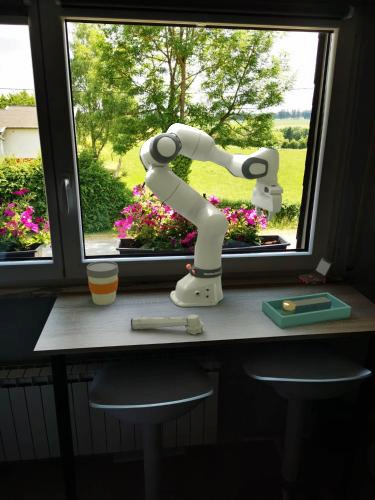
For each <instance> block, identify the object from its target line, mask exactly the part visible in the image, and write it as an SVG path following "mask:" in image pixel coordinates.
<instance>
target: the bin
mask: <svg viewBox="0 0 375 500" xmlns="http://www.w3.org/2000/svg"><path fill="white" fill-rule="evenodd" d="M320 297H326V298H328V299H329V300H331V301H332V303H331V309H327V310H320V311H313V312H307V313H300V314H293V315H287V316H282V307H283V301H286V300H289V301H299V300H306V299H313V298H320ZM261 312H262V313H263V314H264V316H266V317H267V318H268V319H269V320H270V321H271V322H272V323H273V324H275V325H276V327H278V328H279V329H280V330H283V329H289V328H294V327H302V326H307V325H312V324H319V323H320V324H321V323H325V322H326V323H327V322H332V321H333V322H334V321H337V320H345V319H349V318H350V317H351V313H352V306H351V305H348V304H347V303H345V302H343V300H341V299H339V298H337V297H336V296H334V295H332V293H330V292H328V291H327V292H321V293H320V292H319V293H312V294H307V295H298V296H290V297H289V296H288V297H283V298H276V299H275V298H274V299H267V300H263V301H262V304H261Z"/></svg>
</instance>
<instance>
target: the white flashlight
mask: <svg viewBox="0 0 375 500" xmlns="http://www.w3.org/2000/svg"><path fill="white" fill-rule="evenodd" d="M173 327H184V328H185V329H186V333H188V334H190V335H192V334H193V335H197V334H201V333H202V332H203V327H204V322H203V321H201V319H200V316H199V315H197V314H190V315H188V316H169V317H167V316H166V317H165V316H160V317H159V316H157V317H156V316H155V317H154V316H152V317H148V316H147V317H146V316H145V317H143V316H140V317H131V318H130V329H132V330H142V331H143V330H145V329H146V330H147V329H157V328H159V329H160V328H173Z"/></svg>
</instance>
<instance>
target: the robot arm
mask: <svg viewBox="0 0 375 500" xmlns="http://www.w3.org/2000/svg"><path fill="white" fill-rule="evenodd" d="M178 155H182V156H184V157H187V158H188V159H191V160H194V161H196V162H197V161H198V162H203V163H204V162H211V163H214V164H216V165H218V166H221V167H222V168H224V169H226V170H227V171H228V172H229V174H230V175H231V176H233V177H235V178H241V179H244V180H249V181H251V180H252V181H253V180H256V181H255V182H256V183H255V186H253V189H252V192H251V198H250V202H251V205H252V206H253V205H254V206H255V213H256V214H255V215H256V216H257V217H261V216H262V212H261V209H263V210H265V211H268V215H267V217H266V220H267V221H268V222H272V221H273V217H274V216H275V214H276V213H280V211H281V210H282V205H283V204H282V203H283V195H282V194H283V193H284V188H283V187H282V186H281V185H280V184H279V183H278V179H279V177H278V173H279V170H280V169H279V168H280V153H279V151H278V150H277V149H276V148H272V147H267V146H261V147H260V148H259V149H258V150H257V151H255V152H253V153H250V154H249V155H248V154H243V153H234V154H233V153H230V152H228V151H226V150H223V149H221V148H220V147H218V146H216V141H215V139H214V138H213V137H212V136H210V135H209V134H208V133H206V132H204V131H203V130H200V129H197V128H196V127H192V126H189V125H186V124H182V123H174V124H172V125H171V126H169V128H168V130H167V131H166V132H162V133H157V134H155V135H154V136H153V137H150V138H149V139H147V140H146V141H145V142H144V143H143V144H142V145H141V147H140V149H139V153H138V156H139V157H138V158H139V160H140V163H141V164H142V167H143V168H144V170H145V172H146V174H145V177H144V183H145V185H146V187H147V188H148V190H149V191H150V192H152V194H153V195H155V196H156V197H157V198H158V199H159V200H160V201H162V202H163V203H164V204H165V205H167V206H168V207H170V208H171V209H172V210H173V211H174V212H176V213H177V214H178V215H180V216H182V217H183V218H184V219H186V220H188V221H189V222H190V223H191V224H193V225H194V226H195V227H196V228H197V237H196V244H195V245H194V259H193V260H194V262H193V264H190V263H188V264H186V265H185V268H186V269H187V270H189V273H188V274H186V275H185V276H184V277H182V278H181V279H180V280H178V281H177V282H176V286H175V290H172V291H171V292H170V295H169V297H170V300H171V302H172V303H174V304H175V305H176V306H178V307H183V308H184V307H185V308H186V307H210V306H212V307H213V306H217V305H218V303H219V302H220V301H222V300H223V299H224V294H223V290H222V289H223V288H222V274H223V266H222V253H223V251H222V250H223V244H224V239H225V235H226V233H227V232H228V229H229V220H228V218H227V216H226V214H225V212H224V211H222V210H221V209H219V208H218V207H217V206H215V205H214V204H212V203H211V202H210V201H209V200H207V199H206V198H205V197H204V196H203V195H201V194H200V193H199V192H198V191H197V190H195V189H194V188H193V187H192V186H190V185H189V184H188V183H187V182H186V181H184V180H183V179H182V178H180V177H179V176H178V175H176V174H175V173H174V171H172V169H171V167H170V165H169V164H170V163H172V162H173V161H174V160H175V159H176V158H177V156H178Z"/></svg>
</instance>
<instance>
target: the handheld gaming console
mask: <svg viewBox="0 0 375 500" xmlns="http://www.w3.org/2000/svg"><path fill="white" fill-rule="evenodd" d="M333 266H334V263H333V262H332V261H330V260H328V259H326V258H325V257H320V258H319V261H318V262H317V264H316V266H315V268H314V270H313V271H312V273H308V274H305V273H304V274H298V279H300V280H301V279H302V280H303V281H302V280H301V281H302V282H304V281H305V282H306V284H307V285H309V286H310V285H321V284H325V283H326V280H327V277H328V275H329V274H330V272H331V269H332V267H333ZM305 282H304V283H305Z"/></svg>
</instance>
